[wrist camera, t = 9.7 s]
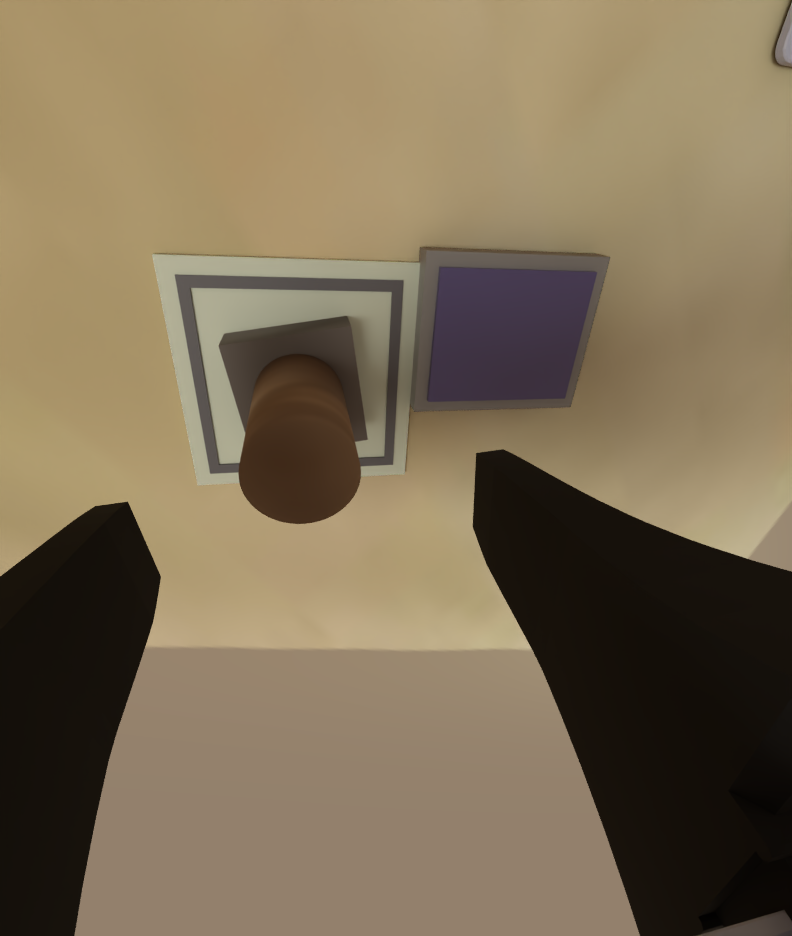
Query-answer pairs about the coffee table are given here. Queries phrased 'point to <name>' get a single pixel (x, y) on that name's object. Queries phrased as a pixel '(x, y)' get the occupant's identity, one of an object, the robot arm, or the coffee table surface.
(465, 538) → the coffee table surface
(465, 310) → the ink pad
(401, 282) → the sheet
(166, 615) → the coffee table surface
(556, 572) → the robot arm
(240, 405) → the stamp
